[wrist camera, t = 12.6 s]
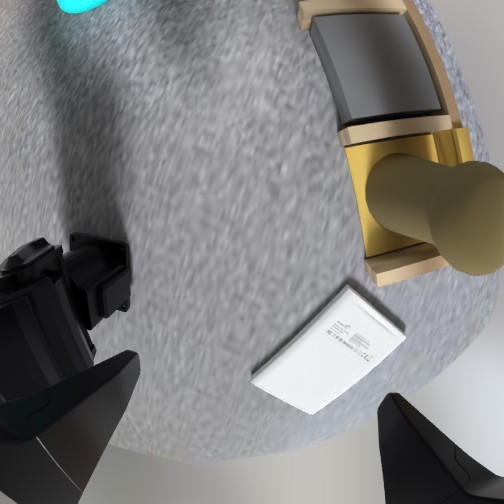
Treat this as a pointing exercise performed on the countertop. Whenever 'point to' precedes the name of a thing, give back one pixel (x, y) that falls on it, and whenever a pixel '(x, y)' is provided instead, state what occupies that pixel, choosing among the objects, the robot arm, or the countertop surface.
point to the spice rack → (386, 108)
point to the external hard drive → (329, 353)
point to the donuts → (79, 5)
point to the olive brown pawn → (442, 207)
